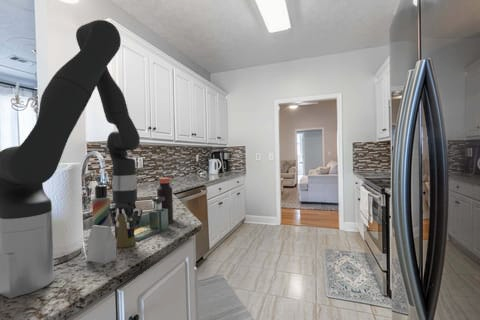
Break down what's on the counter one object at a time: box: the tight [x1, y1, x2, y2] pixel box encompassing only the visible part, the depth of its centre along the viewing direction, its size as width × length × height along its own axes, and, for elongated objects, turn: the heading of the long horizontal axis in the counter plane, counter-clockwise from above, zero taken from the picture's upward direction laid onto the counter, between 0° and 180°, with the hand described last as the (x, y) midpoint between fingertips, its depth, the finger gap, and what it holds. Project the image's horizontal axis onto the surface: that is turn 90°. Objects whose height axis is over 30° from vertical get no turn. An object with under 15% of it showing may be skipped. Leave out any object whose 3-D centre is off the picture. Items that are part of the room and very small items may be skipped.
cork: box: [115, 213, 137, 249], centre depth 79 cm, size 6×6×11 cm
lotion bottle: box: [91, 184, 112, 229], centre depth 86 cm, size 6×6×20 cm
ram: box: [151, 196, 164, 211], centre depth 96 cm, size 5×5×8 cm
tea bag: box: [86, 224, 117, 265], centre depth 68 cm, size 4×7×10 cm, turn 71°
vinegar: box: [156, 177, 174, 223], centre depth 108 cm, size 7×7×20 cm
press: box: [114, 208, 170, 242], centre depth 92 cm, size 16×12×8 cm
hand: (126, 237), depth 79 cm, fingers closed on cork, 3 cm apart
